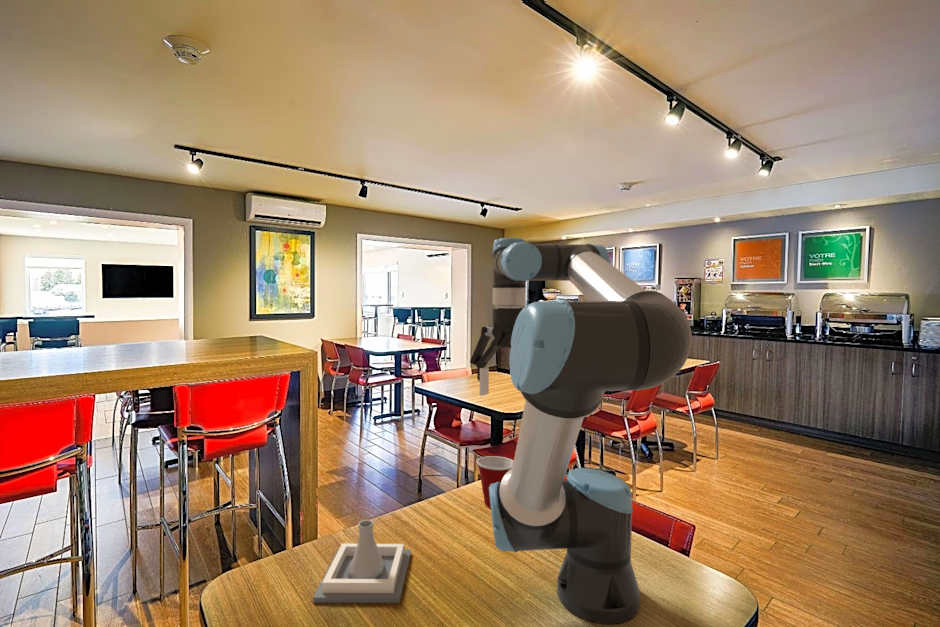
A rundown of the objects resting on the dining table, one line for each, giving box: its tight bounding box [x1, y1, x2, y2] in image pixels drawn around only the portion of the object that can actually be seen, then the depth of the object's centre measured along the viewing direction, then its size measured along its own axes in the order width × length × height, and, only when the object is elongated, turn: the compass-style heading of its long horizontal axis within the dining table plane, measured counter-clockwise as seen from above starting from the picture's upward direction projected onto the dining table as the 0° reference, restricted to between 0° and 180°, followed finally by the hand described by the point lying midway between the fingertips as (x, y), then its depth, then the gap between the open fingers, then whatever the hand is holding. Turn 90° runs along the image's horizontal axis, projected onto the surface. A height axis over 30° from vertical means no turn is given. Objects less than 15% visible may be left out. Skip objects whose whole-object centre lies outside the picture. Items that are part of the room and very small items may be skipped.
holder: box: [312, 542, 412, 604], centre depth 95 cm, size 16×16×3 cm
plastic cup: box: [476, 455, 514, 509], centre depth 126 cm, size 11×11×12 cm
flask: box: [348, 519, 384, 579], centre depth 95 cm, size 7×7×10 cm
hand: (508, 398), depth 108 cm, fingers open, 13 cm apart
